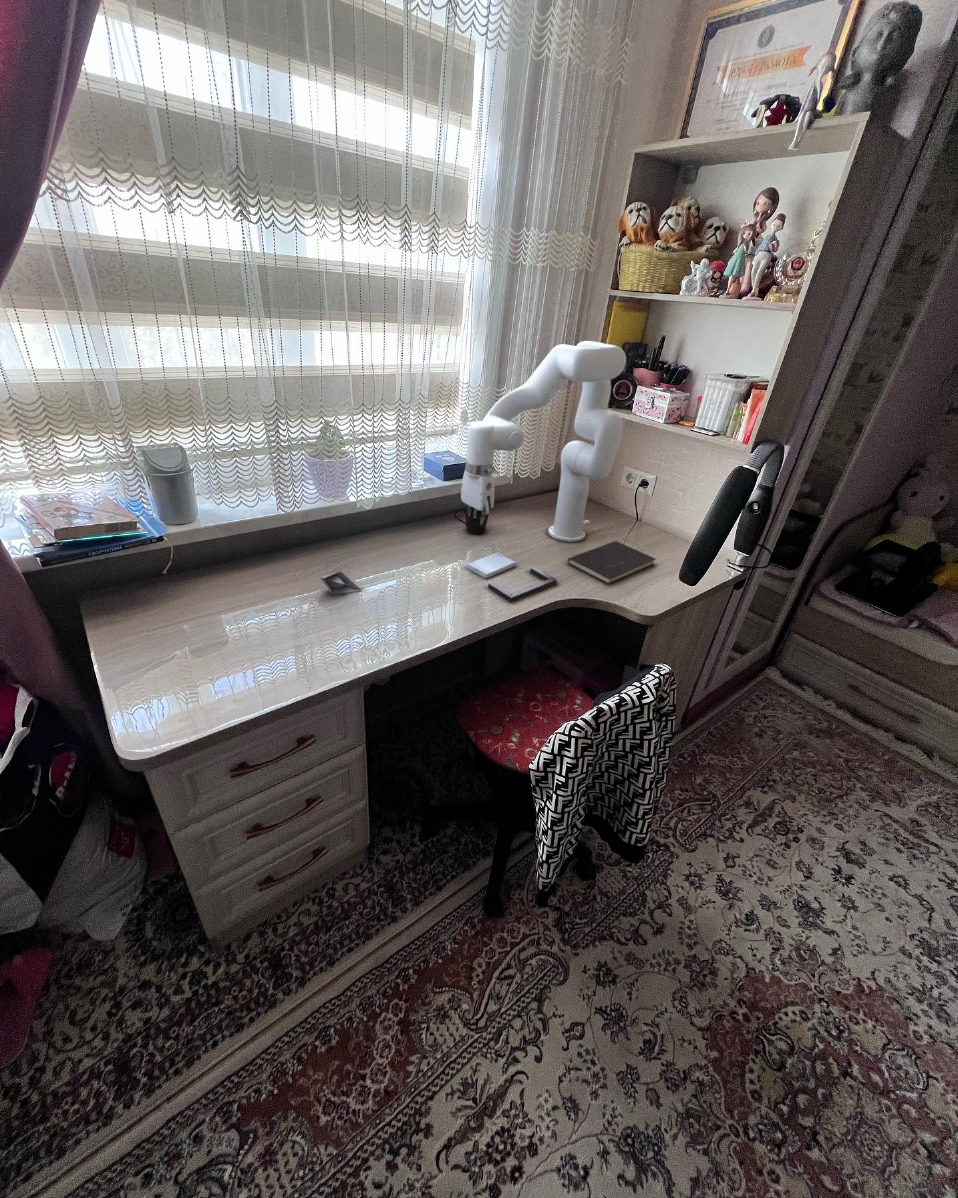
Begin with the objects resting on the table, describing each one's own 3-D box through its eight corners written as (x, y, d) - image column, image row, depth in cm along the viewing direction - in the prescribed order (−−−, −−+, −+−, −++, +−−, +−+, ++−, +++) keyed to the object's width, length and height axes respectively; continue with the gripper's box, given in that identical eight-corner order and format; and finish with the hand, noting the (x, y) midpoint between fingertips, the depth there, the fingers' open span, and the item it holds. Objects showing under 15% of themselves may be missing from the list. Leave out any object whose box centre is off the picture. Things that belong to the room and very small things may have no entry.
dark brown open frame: (533, 571, 157) (534, 566, 156) (556, 584, 151) (557, 579, 151) (487, 588, 147) (488, 583, 146) (510, 602, 141) (511, 597, 140)
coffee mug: (489, 527, 183) (491, 499, 178) (487, 537, 176) (489, 509, 170) (456, 523, 184) (457, 496, 178) (452, 533, 176) (453, 505, 171)
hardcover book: (653, 565, 166) (655, 558, 165) (608, 585, 153) (610, 578, 152) (613, 546, 176) (614, 540, 175) (567, 563, 163) (568, 556, 162)
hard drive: (496, 552, 163) (467, 563, 155) (516, 561, 158) (486, 573, 150) (495, 556, 164) (466, 568, 156) (515, 566, 159) (486, 578, 151)
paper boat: (351, 575, 145) (371, 579, 139) (345, 597, 145) (365, 602, 139) (313, 563, 136) (333, 567, 130) (307, 587, 136) (326, 592, 130)
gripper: (506, 473, 146) (499, 534, 155) (472, 459, 155) (467, 517, 165) (486, 477, 142) (480, 540, 151) (452, 462, 151) (448, 522, 160)
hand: (473, 528), depth 158 cm, fingers closed
